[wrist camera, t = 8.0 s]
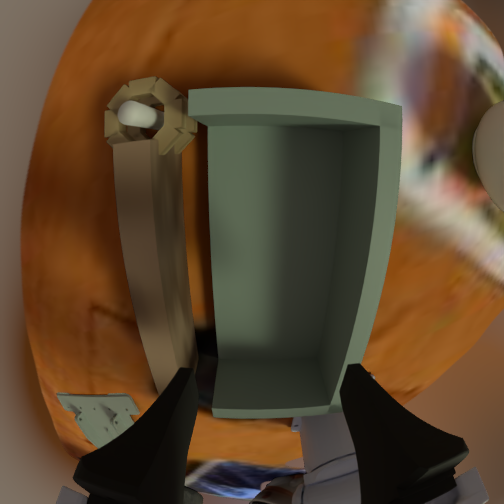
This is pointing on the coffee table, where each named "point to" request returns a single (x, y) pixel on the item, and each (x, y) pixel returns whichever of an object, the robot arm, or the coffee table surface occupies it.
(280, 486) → the lucky cat figurine
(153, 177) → the brown gear-headed lever
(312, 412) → the sage green open box
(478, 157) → the lidded jar
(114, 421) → the metal bracket
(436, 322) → the coffee table surface
